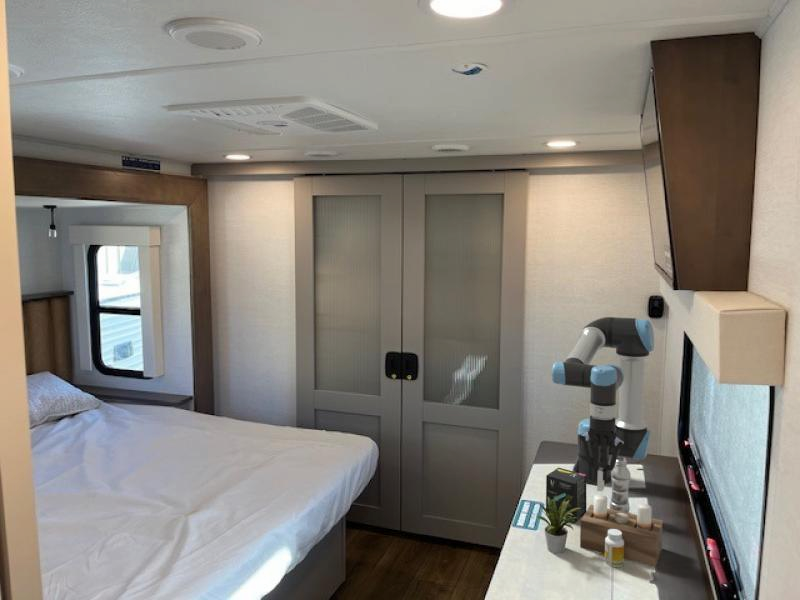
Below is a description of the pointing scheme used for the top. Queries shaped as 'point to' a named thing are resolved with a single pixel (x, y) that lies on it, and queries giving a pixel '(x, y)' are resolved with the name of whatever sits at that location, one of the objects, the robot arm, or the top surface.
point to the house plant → (557, 526)
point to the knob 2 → (644, 516)
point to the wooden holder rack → (623, 535)
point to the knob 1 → (600, 507)
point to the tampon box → (567, 491)
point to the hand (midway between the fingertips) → (600, 489)
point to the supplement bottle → (614, 548)
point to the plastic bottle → (620, 486)
